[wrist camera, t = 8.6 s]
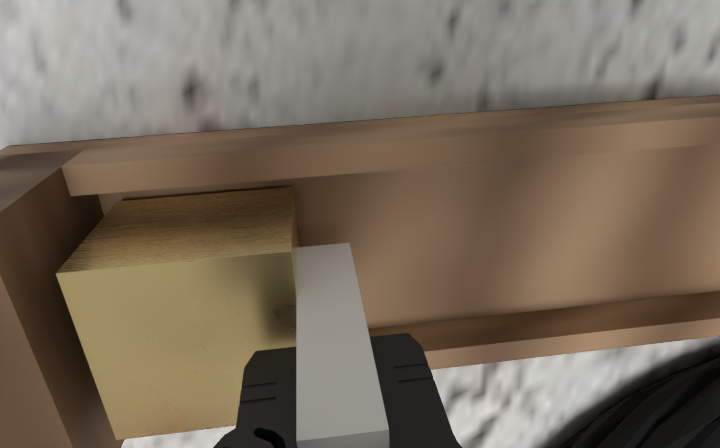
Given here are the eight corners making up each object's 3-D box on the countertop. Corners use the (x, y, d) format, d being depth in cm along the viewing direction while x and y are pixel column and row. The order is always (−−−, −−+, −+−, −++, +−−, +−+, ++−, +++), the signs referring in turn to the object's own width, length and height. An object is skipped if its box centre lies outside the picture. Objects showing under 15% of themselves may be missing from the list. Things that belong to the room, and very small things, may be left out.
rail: (927, 79, 17) (1223, 121, 11) (839, 278, 20) (1035, 381, 15) (8, 145, 14) (-166, 239, 9) (86, 360, 18) (-6, 520, 12)
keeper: (292, 187, 14) (291, 251, 11) (307, 324, 17) (310, 416, 13) (117, 201, 14) (55, 273, 10) (156, 340, 16) (116, 440, 13)
